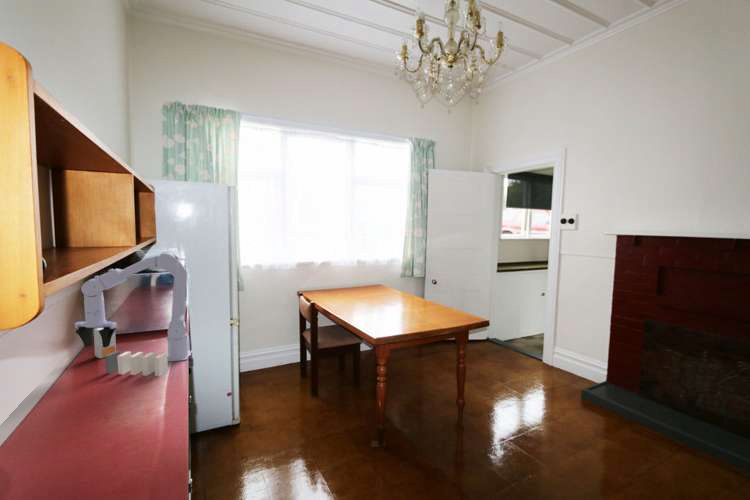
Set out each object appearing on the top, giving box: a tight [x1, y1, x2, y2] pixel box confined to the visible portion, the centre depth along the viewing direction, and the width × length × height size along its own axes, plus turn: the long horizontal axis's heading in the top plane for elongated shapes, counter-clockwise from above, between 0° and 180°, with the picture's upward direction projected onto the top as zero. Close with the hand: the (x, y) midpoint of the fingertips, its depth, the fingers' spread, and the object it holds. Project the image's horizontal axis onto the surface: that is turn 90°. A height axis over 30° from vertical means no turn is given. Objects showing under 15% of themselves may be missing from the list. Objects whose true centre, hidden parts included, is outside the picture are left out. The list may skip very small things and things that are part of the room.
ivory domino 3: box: [142, 352, 156, 377], centre depth 126 cm, size 2×4×7 cm, turn 175°
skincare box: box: [93, 328, 117, 359], centre depth 142 cm, size 6×4×12 cm
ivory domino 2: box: [129, 351, 144, 376], centre depth 126 cm, size 2×4×7 cm, turn 175°
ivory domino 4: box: [154, 352, 169, 377], centre depth 126 cm, size 2×4×7 cm, turn 176°
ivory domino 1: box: [117, 351, 133, 376], centre depth 127 cm, size 2×4×7 cm, turn 175°
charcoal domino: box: [104, 350, 121, 375], centre depth 127 cm, size 2×4×7 cm, turn 174°
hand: (97, 346), depth 127 cm, fingers open, 6 cm apart
